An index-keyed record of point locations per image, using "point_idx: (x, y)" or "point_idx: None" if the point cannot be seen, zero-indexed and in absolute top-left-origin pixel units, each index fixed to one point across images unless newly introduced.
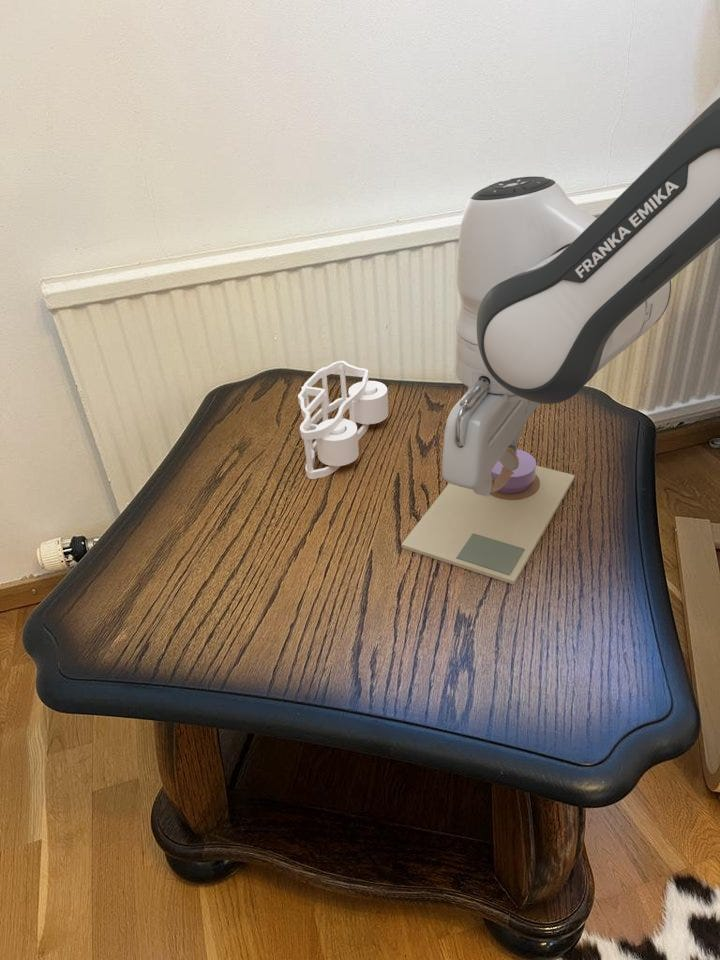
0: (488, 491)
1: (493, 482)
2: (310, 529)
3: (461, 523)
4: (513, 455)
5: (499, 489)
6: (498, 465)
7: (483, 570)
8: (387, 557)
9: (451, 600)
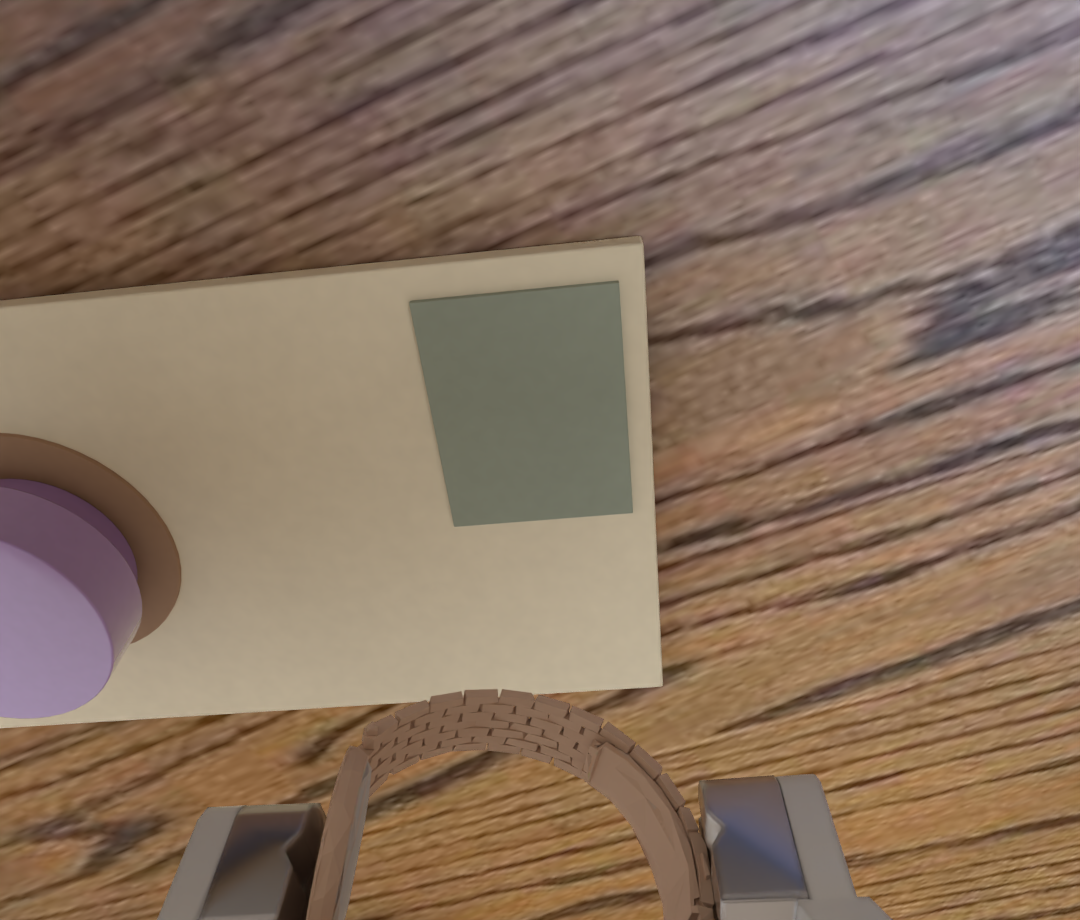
0: (827, 811)
1: (746, 847)
2: None
3: (424, 583)
4: (336, 898)
5: (131, 565)
6: (49, 660)
7: (645, 390)
8: (728, 683)
9: (853, 413)
